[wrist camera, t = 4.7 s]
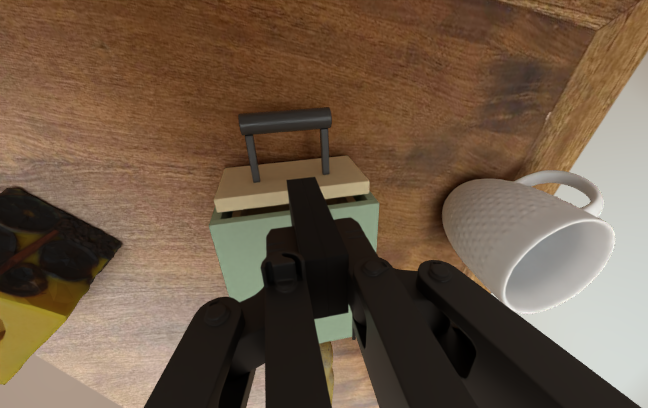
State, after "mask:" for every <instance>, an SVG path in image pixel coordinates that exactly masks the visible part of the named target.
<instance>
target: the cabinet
mask: <svg viewBox="0 0 648 408" xmlns="http://www.w3.org/2000/svg"><path fill="white" fill-rule="evenodd" d="M353 197H354V199H355V201H356V202H350V203H342V204H334V205H328V208H329V210H330V212H331V215H332V217H333V219H341V218H348V217H351V218H353V219H354V220H355V221H357V222H358V223H359V224H360V226H361V228H362V229H363V231H364V233H365V235H366V237H367V238H368V240H369V242H370V243H371V245H372V247H373V249H374V250H375V252H376V246H377V231H378V216H379V202H378V201H377V200H376V199H375V197H374V196H373V195H372V193H371V192H370V191H369V194H361V195H353ZM232 213H233V211H227V212H219V213H217V211H216V207H215V208H214V212H213V215H212V218H211V221H210V223H209V229H210V232H211V236H212V239H213V243H214V246H215V249H216V253H217V256H218V260H219V263H220V267H221V270H222V274H223V277H224V280H225V284H226V287H227V291H228V294H229V297H231V298H234V299H236V300H237V301H239V302H241V301H243V300H246V299H248V298H250V297H252V296H254V295H255V294H257V293H258V292H259V291H260V290H261V289H262V288H263V287H264V283H263V278H262V273H261V268H260V267H261V264H262V261H263V260H264V259H265V258H266V236H267V234H268V233H269V231H270V230H271V229H275V228H282V227H289V226H292V224H291V216H290V210H288V211H281V212H273V213H265V214H258V215H250V216H242V217H235V218H232ZM314 321H315V326H316V331H317V336H318V341H319V343H324V342H329V341H334V340H339V339H343V338H348V337H352V312H351V309H350V306H349V313H345V314H340V315H335V316H330V317H325V318H319V319H314Z"/></svg>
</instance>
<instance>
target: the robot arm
mask: <svg viewBox="0 0 648 408" xmlns="http://www.w3.org/2000/svg"><path fill="white" fill-rule="evenodd" d="M286 181H287V190H288V198H289V207H290V216H291V224H292V226H289V227H282V228H275V229H271V230H270V231H269V233H268V234H267V236H266V258H265V259H264V260H263V261H262V264H261V267H260V268H261V273H262V278H263V283H264V287H263V288H262V289H261V290H260V291H259V292H258V293H257V294H255V295H254V296H252V297H250V298H248V299H246V300H243V301H241V302H239V301H237V300H236V299H234V298H231V297H220V298H216V299H213V300H211V301H209V302H207V303H206V304H204V305H203V306H202V307H200V309H199V310H198V311H197V312H196V314H195V315H194V317H193V319H192V321H191V322H190V324H189V326H188V328H187V330H186V331H185V333H184V335H183V337H182V339H181V341H180V342H179V344H178V346H177V348H176V350H175V352H174V353H173V355H172V357H171V359H170V361H169V363H168V364H167V366H166V368H165V370H164V372H163V373H162V375H161V377H160V379H159V381H158V383H157V384H156V386H155V388H154V390H153V392H152V394H151V395H150V397H149V399H148V401H147V403H146V404H145V406H144V408H246V406H247V402H248V398H249V394H250V390H251V387H252V383H253V379H254V375H255V371H256V368H257V367H259V366H261V365H262V364H264V363H265V391H266V408H332V406H331V401H330V396H329V391H328V386H327V381H326V376H325V371H324V366H323V361H322V356H321V351H320V346H319V341H318V336H317V331H316V326H315V321H314V319H319V318H325V317H330V316H335V315H340V314H345V313H349V306H350V309H351V312H352V340H355V339H356V338H357V341H358V344H359V347H360V350H361V353H362V356H363V359H364V362H365V365H366V368H367V371H368V374H369V377H370V380H371V383H372V386H373V389H374V392H375V395H376V398H377V401H378V404H379V407H380V408H641V407H640V406H638V405H637V404H636V403H634V402H633V401H632V400H630V399H629V398H628V397H627V396H625V395H624V394H622V393H621V392H620V391H619V390H617V389H616V388H615V387H613V386H612V385H611V384H609V383H608V382H607V381H605V380H604V379H603V378H601V377H600V376H599V375H597V374H596V373H595V372H593V371H592V370H591V369H589V368H588V367H587V366H585V365H584V364H583V363H581V362H580V361H579V360H577V359H576V358H575V357H573V356H572V355H571V354H570V353H568V352H567V351H566V350H564V349H563V348H562V347H560V346H559V345H558V344H556V343H555V342H554V341H552V340H551V339H550V338H548V337H547V336H545V335H544V334H543V333H542V332H540V331H539V330H537V329H536V328H535V327H534V326H532V325H531V324H530V323H528V322H527V321H526V320H524V319H523V318H522V317H520V316H519V315H518V314H517V313H515V312H514V311H513V310H511V309H510V308H509V307H507V306H506V305H505V304H503V303H502V302H501V301H499V300H498V299H497V298H495V297H494V296H493V295H491V294H490V293H489V292H487V291H486V290H485V289H483V288H482V287H481V286H479V285H478V284H477V283H475V282H474V281H473V280H471V279H470V278H469V277H467V276H466V275H465V274H464V273H462V272H461V271H460V270H458V269H457V268H456V267H454V266H452V265H450V264H449V263H446V262H443V261H439V260H429V261H425V262H423V263H422V264H420V266H419V268H418V271H408V270H399V269H395V268H393V267H392V266H391V265H390V264H389V263H388V261H386V260H384V259H382V258H379V257H378V255H377V254H376V252H375V250H374V249H373V247H372V245H371V243H370V242H369V240H368V238H367V237H366V235H365V233H364V231H363V229H362V228H361V226H360V224H359V223H358V222H357V221H355V220H354V219H353V218H351V217H348V218H341V219H333V217H332V215H331V212H330V210H329V208H328V205H327V203H326V201H325V198H324V196H323V194H322V192H321V189H320V187H319V185H318V182H317V180H316V178H315V177H308V178H299V179H290V180H286Z"/></svg>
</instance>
